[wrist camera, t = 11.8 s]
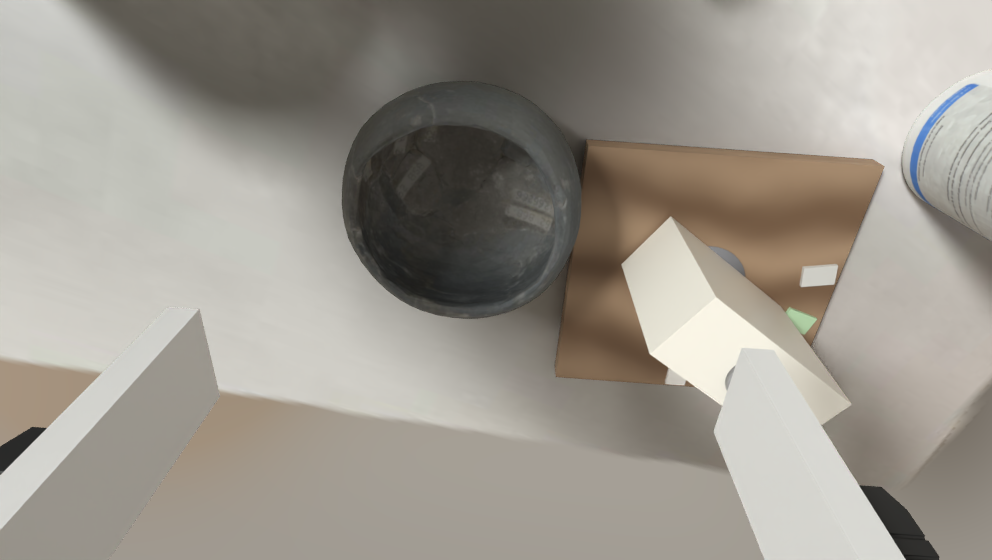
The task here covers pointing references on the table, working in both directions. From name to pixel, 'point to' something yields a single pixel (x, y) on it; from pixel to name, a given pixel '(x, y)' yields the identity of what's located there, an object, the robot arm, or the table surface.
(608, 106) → the table surface
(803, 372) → the white block with knob
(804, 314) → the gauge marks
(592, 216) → the board
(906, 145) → the supplement tub
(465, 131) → the bowl
